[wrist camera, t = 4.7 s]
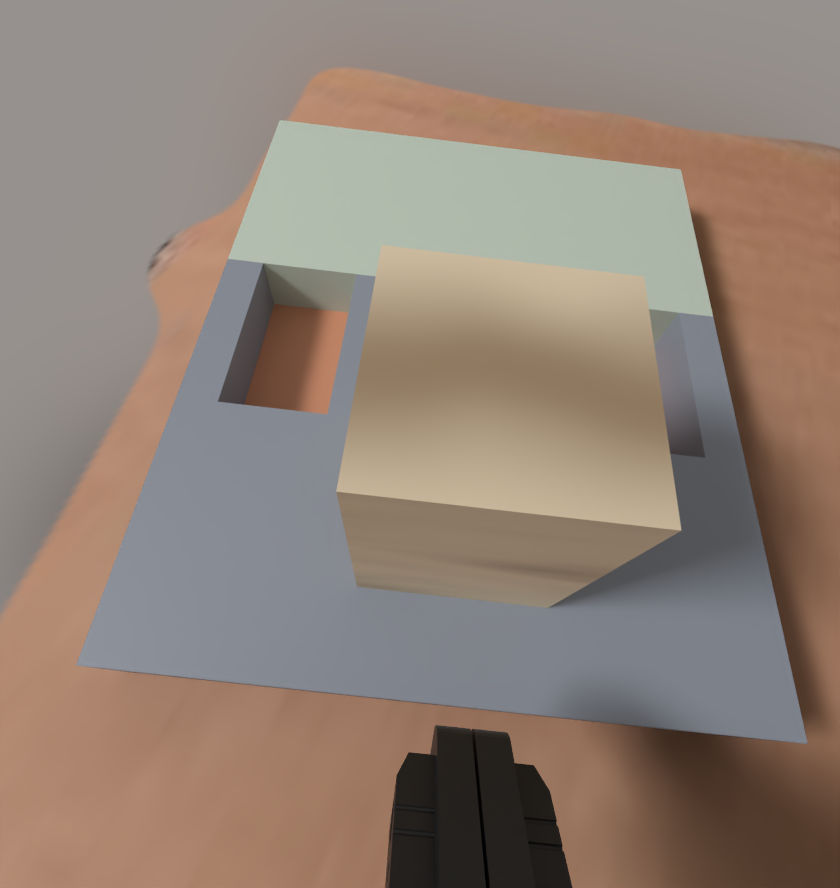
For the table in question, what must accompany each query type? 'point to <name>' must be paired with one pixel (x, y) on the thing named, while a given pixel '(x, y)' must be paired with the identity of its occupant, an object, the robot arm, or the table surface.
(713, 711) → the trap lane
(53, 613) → the table surface
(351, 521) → the birch block
